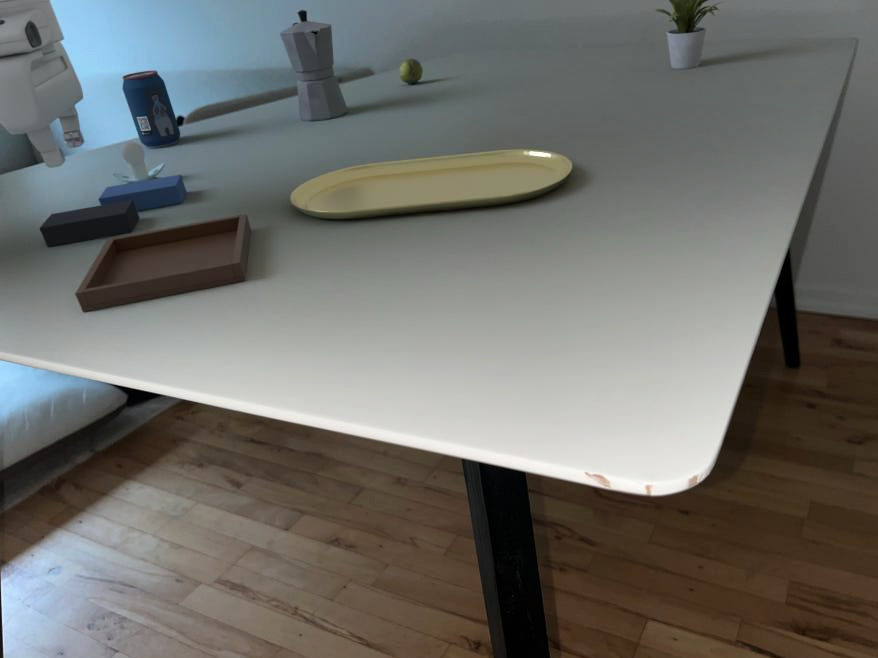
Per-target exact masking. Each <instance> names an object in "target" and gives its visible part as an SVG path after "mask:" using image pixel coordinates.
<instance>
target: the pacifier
mask: <svg viewBox="0 0 878 658" xmlns="http://www.w3.org/2000/svg"><path fill="white" fill-rule="evenodd" d="M121 156H122V158H123V160H124V161H125V162H126V163H127V164H128V167H129V169H130V171H131V173H121V172H114V173H112V177H113V178H114V179H115V180H117V181H119V182H123V183H126V184H128V183H134V182H140V181H146V180H151V179H157V178H163V177H162V176H158V175H159V174H161V172H162V171H163V170H164V168H165V166H166V164H165V163H161V164H159V165H158V166H156V167H155V168H153V169H150V171H148V169H147V165H146V162H145V161H144V160H145V157H146V155H145V151H144V149H143V147H142V145H140V144H139V143H137V142H135V141H128V142H126V143H124V144H123V146H122V148H121Z"/></svg>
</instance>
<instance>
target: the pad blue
mask: <svg viewBox="0 0 878 658" xmlns="http://www.w3.org/2000/svg"><path fill="white" fill-rule="evenodd" d="M127 183H128V182H127ZM127 183H123V184H117V185H112V186H106V187H105V189H104V190H103V192H102V193H101V195H100V196H99V197H98V201H99V202H98V203H99V204H100V206H101V205H106V204H112V203H118V202H123V201H129V200H133V202H134V205H135V207H136V210H137V212H140V211H145V210H150V209H151V210H152V209H156V208H161V207H163V208H164V207H169V206H173V205H178V204H182V203H183V202H184V199H185V196H186V193H187V188H186V185H185V182H184V180H183V176H182V174H175V175H169V176H164V177H162V178H157V179H151V180H146V181H140V182H134V183H128V184H127Z"/></svg>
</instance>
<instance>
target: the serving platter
mask: <svg viewBox="0 0 878 658" xmlns="http://www.w3.org/2000/svg"><path fill="white" fill-rule="evenodd" d="M573 169H574V168H573V163H572V161H571V159H569V158H568V157H567V156H565V155H562V154H559V153H556V152H553V151H549V150H541V149H540V150H539V149H526V148H525V149H520V148H519V149H517V148H516V149H501V150H500V149H499V150H491V151H490V150H489V151H479V152H471V153H470V152H469V153H462V154H452V155H441V156H432V157H431V156H430V157H422V158H411V159H403V160H393V161H382V162H374V163H373V162H372V163H366V164H360V165H353V166H349V167H343V168H340V169H337V170H334V171H330V172H326V173H324V174H321V175H318V176H316V177H313V178H312V179H309V180H307V181H305V182H303V183H302V184H300V185H299V186H298V187H296V188H295V189H294V190H293V191H292V192H291V195H290V199H289V200H290V203H291V205H292V206H293V207H294V208H295V209H296V210H298V211H300V212H301V213H302V214H303V213H304V214H305V215H308V216H310V217H314V218H319V219H325V220H355V219H356V220H357V219H367V218H376V217H386V216H387V217H388V216H397V215H408V214H419V213H426V212H427V213H430V212H439V211H451V210H462V209H472V208H481V207H482V208H483V207H492V206H502V205H508V204H509V205H510V204H513V203H520V202H523V201H527V200H531V199H534V198H537V197H541V196H542V195H545V194H547V193H550V192H551V191H553V190H555V189H557V188H559V187H560V186H562V184H563V183H564V182H566V180H567V179H568V178H569V177H570V175H571V173H572V171H573Z"/></svg>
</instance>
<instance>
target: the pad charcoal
mask: <svg viewBox="0 0 878 658" xmlns="http://www.w3.org/2000/svg"><path fill="white" fill-rule="evenodd" d="M139 219H140V216H139V212H138V211H137V210H136V207H135V205H134V202H133V200H129V201H123V202H118V203H112V204H106V205H101V204H100V205H95V206H90V207H84V208H79V209H73V210H67V211H61V212H56V213H51V214H50V215H49V216H48V217H47V219H46V220H45V221H44V222H43V223H42V224H41V225H40V226H39V231H40V233H41V235H42V237H43V240H44V242H45V244H46V247H47V248H52V247H58V246H61V245H67V244H68V245H69V244H72V243H73V244H75V243H79V242H85V241H89V240H95V239H101V238H106V237H112V236H117V235H123V234H129V233H132V232H133V231H134V230H135V227H136V225H137V224H138V221H139Z"/></svg>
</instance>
